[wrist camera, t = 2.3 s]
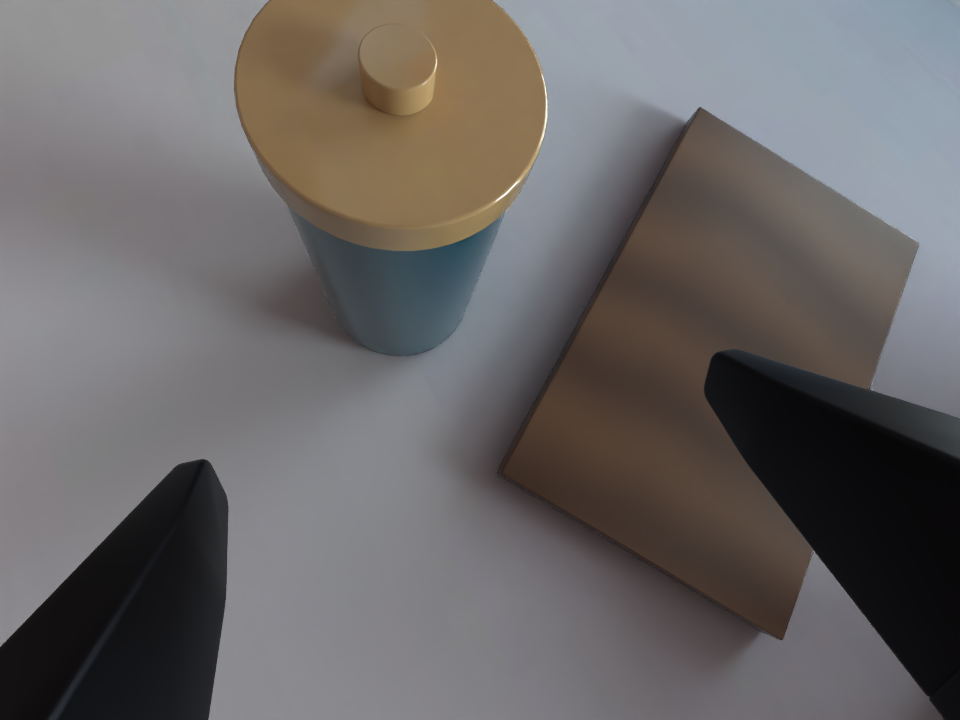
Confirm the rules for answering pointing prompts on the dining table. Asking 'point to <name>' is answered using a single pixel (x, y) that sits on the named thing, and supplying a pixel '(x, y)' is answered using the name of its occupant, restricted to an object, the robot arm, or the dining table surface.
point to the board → (686, 357)
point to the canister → (393, 149)
